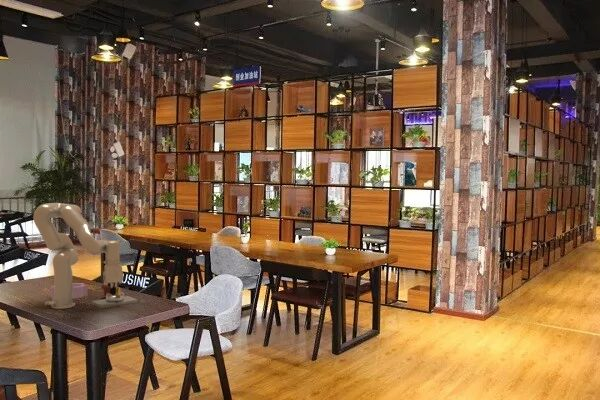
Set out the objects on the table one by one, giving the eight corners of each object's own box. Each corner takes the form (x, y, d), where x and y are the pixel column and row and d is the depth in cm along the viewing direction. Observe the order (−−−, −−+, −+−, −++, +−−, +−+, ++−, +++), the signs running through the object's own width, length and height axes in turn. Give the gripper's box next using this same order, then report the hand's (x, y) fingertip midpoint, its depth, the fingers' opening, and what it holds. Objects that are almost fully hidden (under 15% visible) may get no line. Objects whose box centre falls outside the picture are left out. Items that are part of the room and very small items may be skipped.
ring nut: (118, 303, 306) (118, 288, 305) (101, 300, 312) (101, 285, 312) (132, 300, 315) (132, 285, 314) (115, 297, 322) (115, 282, 321)
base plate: (101, 307, 303) (101, 305, 303) (92, 303, 312) (92, 301, 312) (137, 302, 318) (137, 299, 318) (127, 298, 327) (127, 295, 327)
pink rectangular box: (54, 301, 318) (54, 289, 317) (49, 297, 327) (49, 286, 327) (89, 296, 330) (89, 285, 330) (82, 293, 340) (82, 282, 340)
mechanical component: (121, 296, 331) (112, 300, 321) (107, 295, 333) (97, 299, 323) (121, 277, 330) (112, 280, 321) (107, 276, 332) (97, 279, 323)
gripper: (102, 264, 296) (102, 297, 296) (128, 261, 306) (128, 293, 306) (97, 262, 301) (97, 295, 302) (122, 260, 311) (123, 291, 312)
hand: (113, 294), depth 304 cm, fingers closed
